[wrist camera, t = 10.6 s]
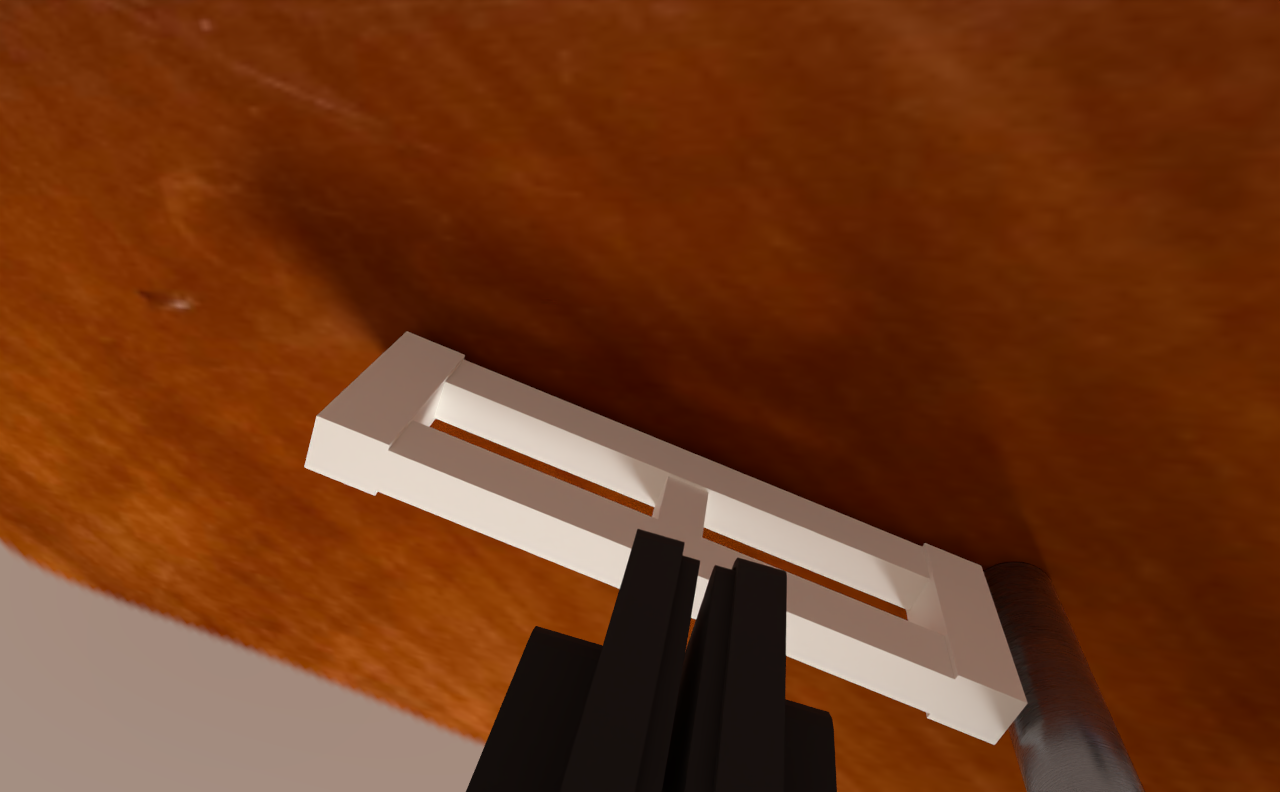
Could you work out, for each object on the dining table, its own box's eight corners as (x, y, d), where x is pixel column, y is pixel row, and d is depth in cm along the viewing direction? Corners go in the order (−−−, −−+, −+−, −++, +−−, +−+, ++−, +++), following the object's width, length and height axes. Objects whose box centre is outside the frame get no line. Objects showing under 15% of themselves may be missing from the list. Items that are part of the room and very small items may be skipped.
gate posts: (1033, 636, 28) (1154, 951, 19) (957, 615, 28) (1040, 919, 19) (1528, -267, 18) (2296, -518, 9) (1404, -296, 18) (2042, -577, 9)
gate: (981, 565, 27) (1027, 703, 22) (955, 603, 27) (994, 745, 22) (406, 331, 26) (316, 415, 21) (394, 375, 27) (304, 467, 22)
